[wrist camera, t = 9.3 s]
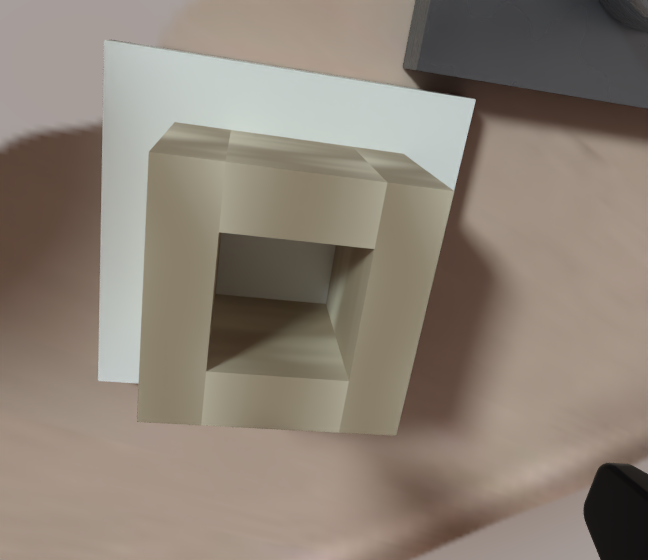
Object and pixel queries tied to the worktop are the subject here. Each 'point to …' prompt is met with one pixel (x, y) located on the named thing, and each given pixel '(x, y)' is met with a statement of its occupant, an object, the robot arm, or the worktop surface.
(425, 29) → the post stand
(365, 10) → the worktop surface
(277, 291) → the tile pad
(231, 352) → the collar
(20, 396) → the worktop surface
